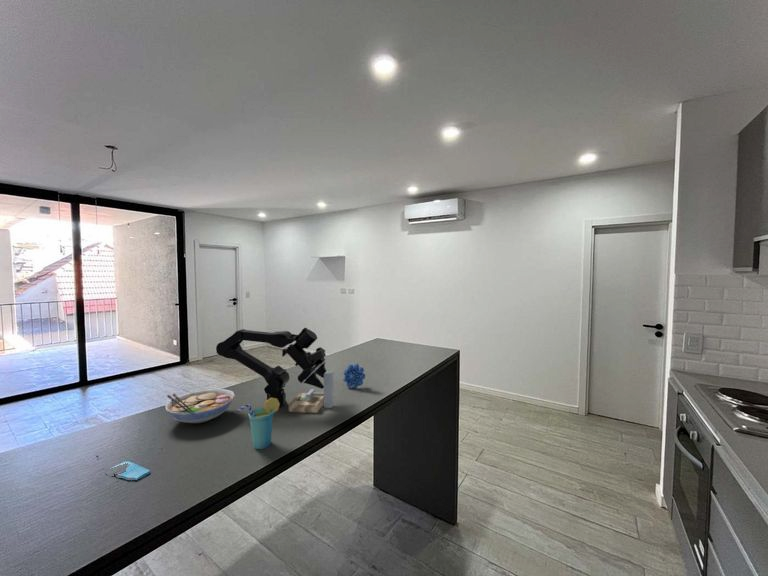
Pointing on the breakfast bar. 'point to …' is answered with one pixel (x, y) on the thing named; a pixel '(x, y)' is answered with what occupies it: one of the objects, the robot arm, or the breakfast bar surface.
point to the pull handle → (327, 391)
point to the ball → (303, 398)
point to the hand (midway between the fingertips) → (326, 383)
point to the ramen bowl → (199, 405)
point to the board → (306, 404)
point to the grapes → (354, 376)
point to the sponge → (133, 470)
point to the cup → (262, 422)
